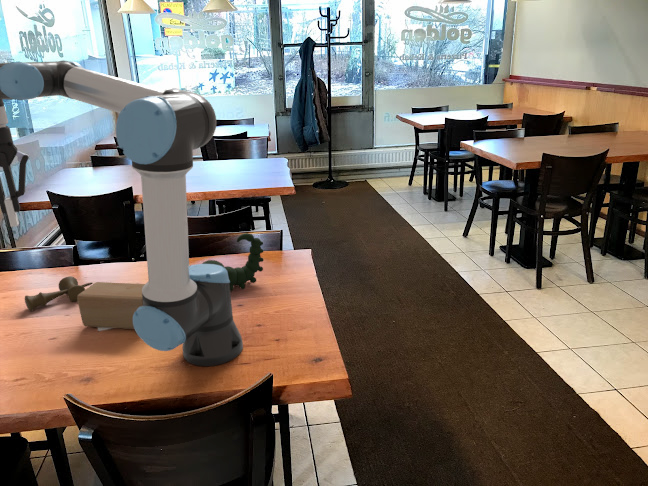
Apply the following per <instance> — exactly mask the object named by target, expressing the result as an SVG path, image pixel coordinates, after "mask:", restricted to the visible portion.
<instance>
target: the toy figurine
mask: <svg viewBox="0 0 648 486" xmlns="http://www.w3.org/2000/svg"><path fill="white" fill-rule="evenodd" d="M244 240H245V241H246V242H249V243H250V247H249V254H248V256H247V261H246V263H245V265H243V266H241V267H232V266H225V265H224V264H223V263H222V262H220V261H219V260H214V259H208V260H206V261H203V262H202V263H201V264H215V265H220V266H222V267H224V268H225V269H226V270H227V272H228V277H229V280H230V283H229V284H230V292H232V291H233V290H234V288H235V287H239V289H241V290H244V289H245V288H246V283H247V282H249V281H250V283H251V284H255V283H256V282H257V277H255V273H257V272H261V273H262V272H263V271H264V267H263V266H262V265H261V264H260V263H262V262H264V258H263V257H262V256H261V254H263V253H264V249H262V247H261V246H263V245H264V242H263V241H262V240H261V239H260V238H258V237H254V235H253V234H252V233H242V234H240V235H239V236H238V237H237V239H236V242H237V243H239V242H241V241H244ZM234 286H235V287H234Z"/></svg>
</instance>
